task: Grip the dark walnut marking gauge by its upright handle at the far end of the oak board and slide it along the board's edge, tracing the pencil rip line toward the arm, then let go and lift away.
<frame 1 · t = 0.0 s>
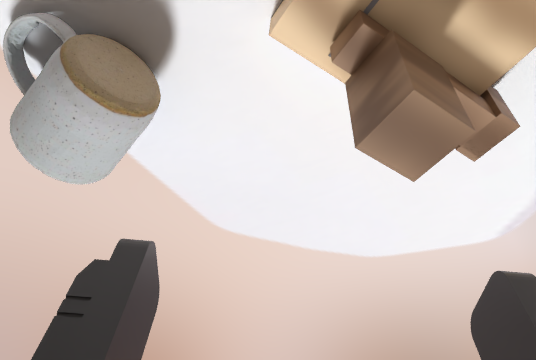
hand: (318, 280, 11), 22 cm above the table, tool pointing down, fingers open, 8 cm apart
ceramic mug: (89, 71, 33), on the table
marking gauge: (431, 106, 26), point 6 cm above the table, slide at 14.0 cm
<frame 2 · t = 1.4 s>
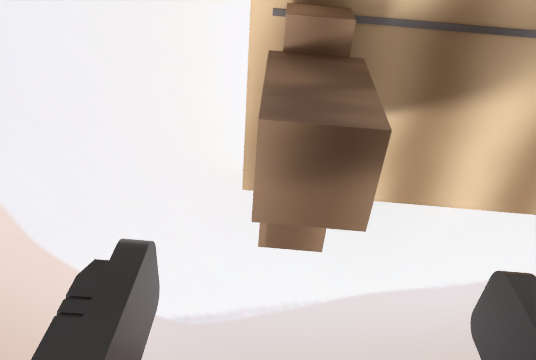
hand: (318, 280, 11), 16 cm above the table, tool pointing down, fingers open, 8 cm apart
oak board: (438, 72, 23), on the table
marking gauge: (303, 164, 20), point 6 cm above the table, slide at 14.0 cm
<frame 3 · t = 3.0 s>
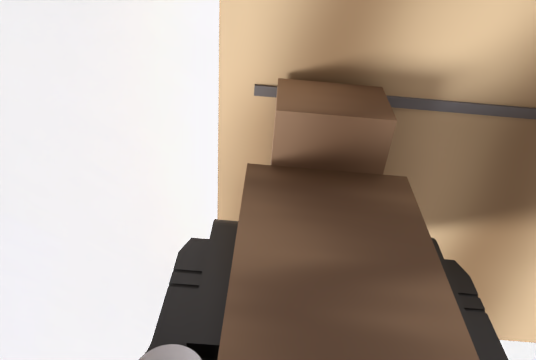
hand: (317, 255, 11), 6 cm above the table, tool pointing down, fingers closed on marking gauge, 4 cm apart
oak board: (498, 159, 16), on the table
marking gauge: (304, 326, 13), point 6 cm above the table, slide at 14.0 cm, touching gripper
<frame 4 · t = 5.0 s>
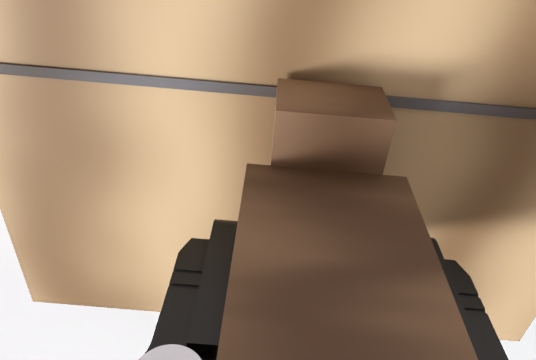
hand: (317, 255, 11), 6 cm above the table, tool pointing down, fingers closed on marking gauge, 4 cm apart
oak board: (294, 142, 16), on the table
marking gauge: (304, 326, 13), point 6 cm above the table, slide at 6.4 cm, touching gripper
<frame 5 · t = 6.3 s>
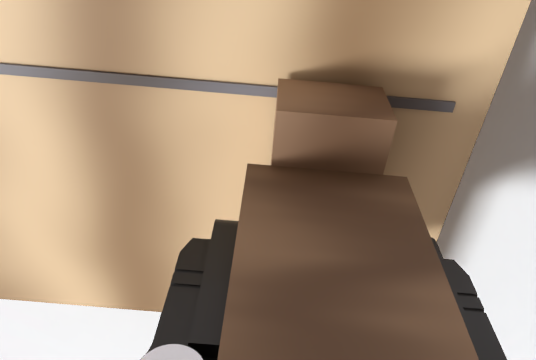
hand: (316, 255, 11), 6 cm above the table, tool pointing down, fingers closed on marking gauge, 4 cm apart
oak board: (161, 131, 16), on the table
marking gauge: (305, 326, 13), point 6 cm above the table, slide at 1.6 cm, touching gripper
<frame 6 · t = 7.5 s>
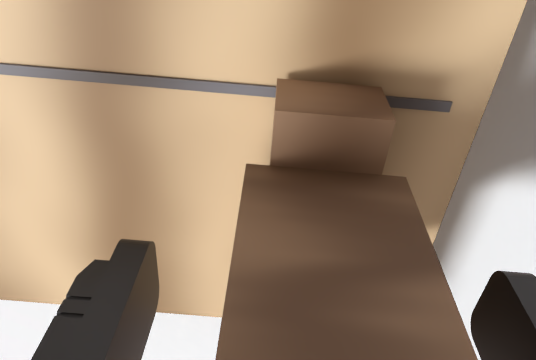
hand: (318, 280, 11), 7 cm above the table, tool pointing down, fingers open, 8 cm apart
oak board: (158, 131, 16), on the table
marking gauge: (304, 326, 13), point 6 cm above the table, slide at 1.5 cm
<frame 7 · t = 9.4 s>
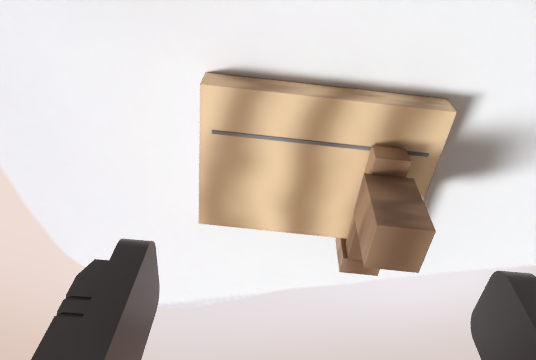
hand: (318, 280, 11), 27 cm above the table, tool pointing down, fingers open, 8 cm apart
oak board: (313, 158, 40), on the table
marking gauge: (376, 229, 37), point 6 cm above the table, slide at 1.5 cm
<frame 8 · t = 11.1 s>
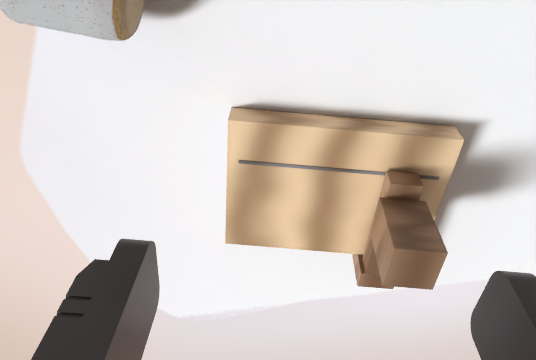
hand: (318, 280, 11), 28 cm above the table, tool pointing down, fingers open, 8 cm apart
oak board: (331, 181, 43), on the table
marking gauge: (391, 248, 40), point 6 cm above the table, slide at 1.5 cm
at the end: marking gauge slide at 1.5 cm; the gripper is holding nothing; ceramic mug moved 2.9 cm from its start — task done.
